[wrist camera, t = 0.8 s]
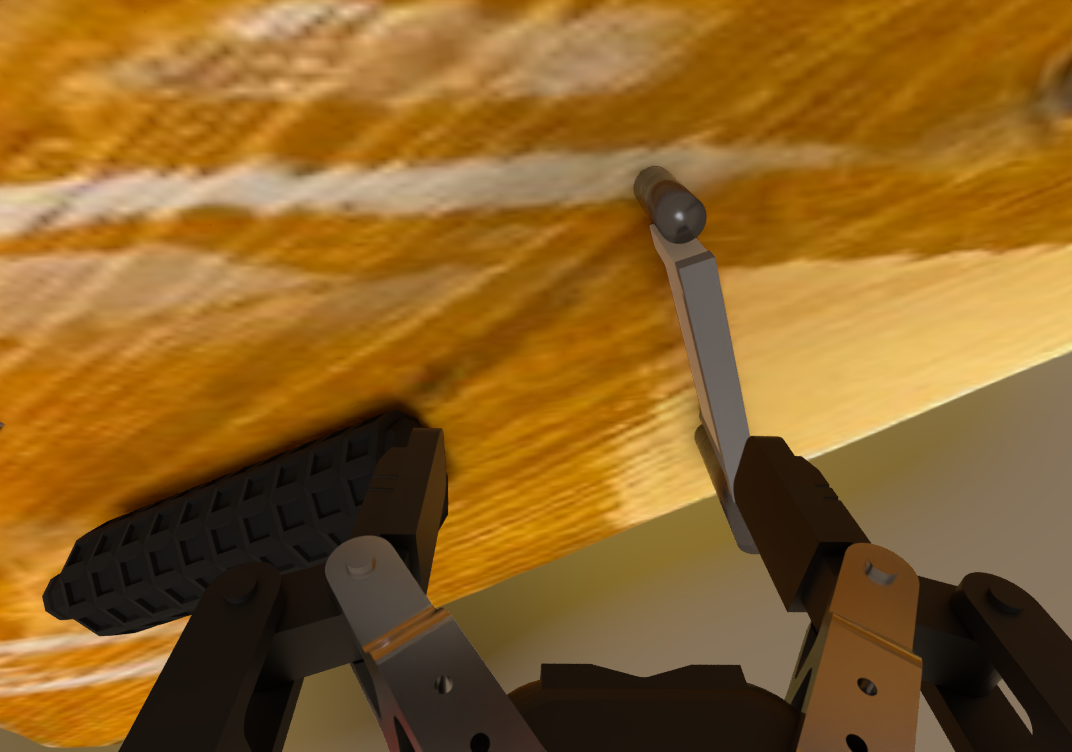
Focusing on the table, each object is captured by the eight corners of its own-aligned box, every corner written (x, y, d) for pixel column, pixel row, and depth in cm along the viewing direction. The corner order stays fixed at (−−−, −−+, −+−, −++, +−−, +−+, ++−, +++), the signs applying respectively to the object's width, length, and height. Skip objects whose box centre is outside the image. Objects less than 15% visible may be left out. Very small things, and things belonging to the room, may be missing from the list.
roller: (140, 603, 53) (38, 683, 44) (87, 522, 52) (-32, 588, 42) (468, 492, 45) (431, 562, 36) (419, 391, 43) (366, 435, 34)
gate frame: (671, 158, 32) (726, 201, 23) (733, 442, 44) (786, 548, 35) (624, 176, 33) (659, 225, 23) (698, 452, 45) (740, 558, 35)
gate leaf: (722, 418, 41) (761, 495, 34) (700, 425, 42) (733, 502, 35) (676, 212, 33) (715, 256, 26) (648, 222, 33) (678, 269, 26)
